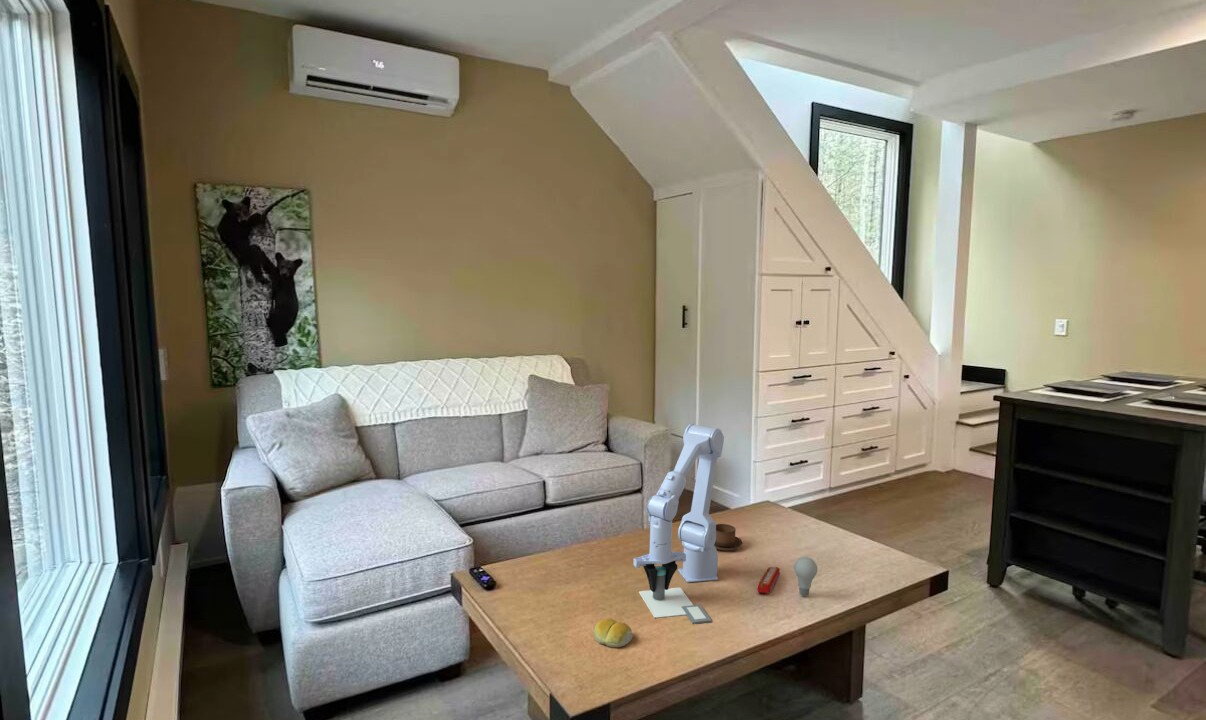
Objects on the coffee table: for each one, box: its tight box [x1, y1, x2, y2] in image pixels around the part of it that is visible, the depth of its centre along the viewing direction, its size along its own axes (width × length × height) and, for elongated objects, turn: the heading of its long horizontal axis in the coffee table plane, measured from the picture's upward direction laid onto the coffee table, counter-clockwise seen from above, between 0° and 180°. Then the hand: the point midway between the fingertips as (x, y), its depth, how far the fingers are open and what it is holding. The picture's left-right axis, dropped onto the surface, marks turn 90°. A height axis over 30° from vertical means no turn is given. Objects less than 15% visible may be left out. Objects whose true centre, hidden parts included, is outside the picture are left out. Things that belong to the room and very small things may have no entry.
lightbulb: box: [793, 556, 818, 597], centre depth 173 cm, size 6×6×11 cm
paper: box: [638, 587, 694, 619], centre depth 169 cm, size 12×14×1 cm
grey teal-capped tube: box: [653, 565, 666, 600], centre depth 170 cm, size 3×3×8 cm
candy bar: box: [757, 566, 781, 594], centre depth 180 cm, size 16×4×3 cm, turn 153°
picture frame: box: [682, 604, 713, 625], centre depth 162 cm, size 5×8×1 cm, turn 13°
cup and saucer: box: [714, 523, 743, 552], centre depth 206 cm, size 12×12×6 cm
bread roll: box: [593, 618, 634, 648], centre depth 151 cm, size 8×9×4 cm
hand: (658, 589), depth 170 cm, fingers closed on grey teal-capped tube, 3 cm apart
